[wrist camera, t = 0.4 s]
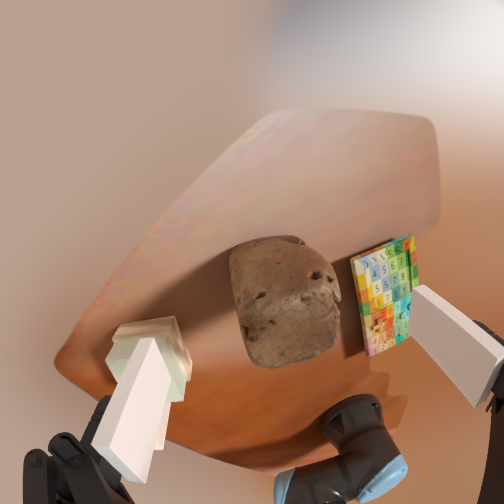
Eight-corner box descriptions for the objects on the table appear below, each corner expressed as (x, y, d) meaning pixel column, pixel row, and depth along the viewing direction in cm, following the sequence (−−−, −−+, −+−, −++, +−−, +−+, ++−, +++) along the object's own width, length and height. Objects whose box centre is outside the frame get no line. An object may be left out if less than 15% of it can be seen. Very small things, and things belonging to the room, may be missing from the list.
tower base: (192, 362, 44) (190, 380, 40) (142, 368, 44) (135, 385, 39) (174, 314, 42) (169, 330, 37) (121, 322, 41) (111, 338, 36)
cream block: (170, 403, 47) (163, 449, 35) (144, 405, 46) (133, 449, 35) (159, 383, 45) (148, 430, 33) (132, 385, 45) (117, 430, 33)
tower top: (186, 379, 39) (183, 400, 35) (137, 383, 39) (130, 403, 34) (167, 334, 37) (161, 355, 32) (115, 341, 37) (104, 360, 32)
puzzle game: (370, 361, 43) (355, 262, 37) (360, 347, 47) (342, 253, 41) (421, 333, 43) (417, 236, 37) (409, 322, 47) (400, 229, 41)
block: (238, 290, 41) (251, 381, 22) (225, 244, 39) (226, 311, 20) (307, 271, 41) (366, 345, 22) (298, 224, 39) (362, 271, 20)
